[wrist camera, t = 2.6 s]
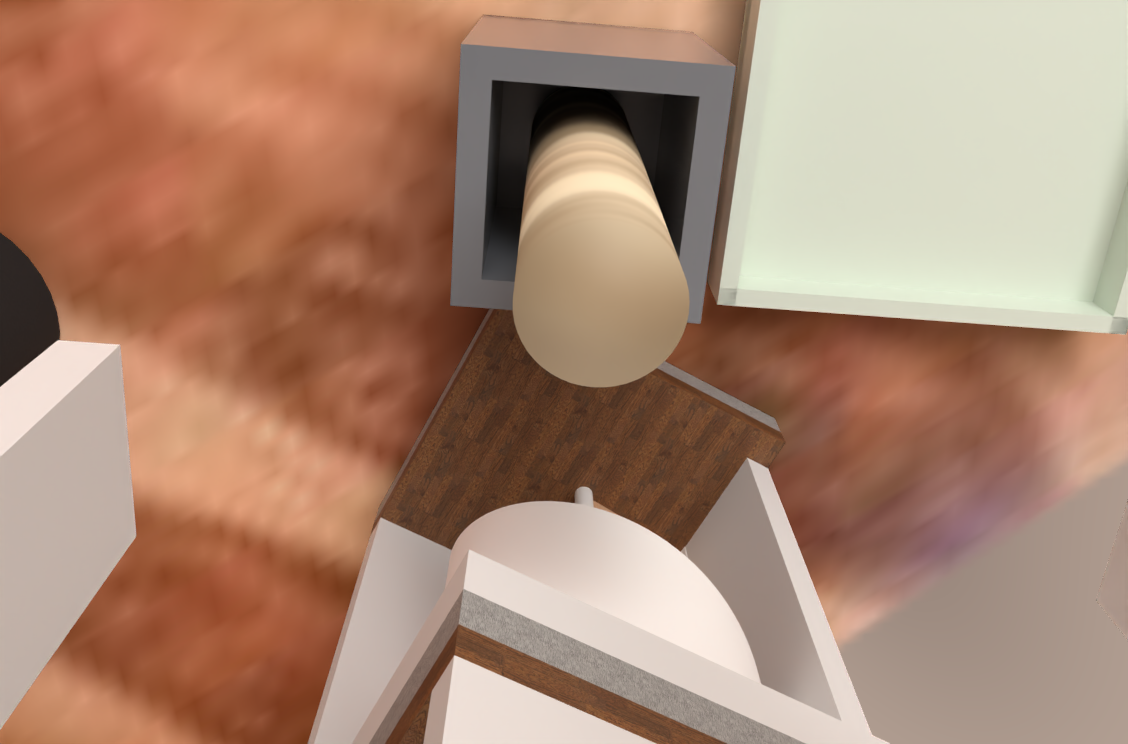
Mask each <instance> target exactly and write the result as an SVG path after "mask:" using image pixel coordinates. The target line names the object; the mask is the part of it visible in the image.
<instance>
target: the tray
mask: <svg viewBox="0 0 1128 744" xmlns="http://www.w3.org/2000/svg"><path fill="white" fill-rule="evenodd" d="M707 282H708V284H709V286H710V289H711V291H712V294H713V296H714V298H715V301H716V303H717V305H729V306H742V307H756V308H770V309H783V310H797V311H811V312H824V313H838V314H852V315H865V316H879V317H893V318H906V319H920V320H934V321H947V322H961V323H975V324H988V325H1002V326H1016V327H1029V328H1043V329H1057V330H1070V331H1084V332H1098V333H1111V334H1125V335H1126V333H1127V329H1128V0H746V5H745V13H744V20H743V27H742V34H741V42H740V49H739V56H738V63H737V71H736V78H735V85H734V92H733V100H732V107H731V114H730V121H729V129H728V136H727V143H726V150H725V158H724V165H723V172H722V179H721V187H720V194H719V201H718V208H717V216H716V223H715V230H714V237H713V245H712V252H711V259H710V266H709V274H708V281H707Z"/></svg>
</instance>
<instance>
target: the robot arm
mask: <svg viewBox="0 0 1128 744" xmlns="http://www.w3.org/2000/svg"><path fill="white" fill-rule="evenodd" d="M135 537H136V526H135V514H134V502H133V490H132V479H131V467H130V455H129V443H128V431H127V419H126V407H125V396H124V384H123V372H122V360H121V348H120V345H117V344H103V343H90V342H76V341H62V340H57V341H56V342H55V343H54V344H53V345H51V346H50V347H49V348H48V349H46V350H45V351H44V352H43V353H41V354H40V355H39V356H38V357H37V358H35V359H34V360H33V361H32V362H30V363H29V364H28V365H27V366H25V367H24V368H23V369H22V370H21V371H19V372H18V373H17V374H16V375H14V376H13V377H12V378H11V379H9V380H8V381H7V382H6V383H4V384H3V385H2V386H1V387H0V729H1V728H2V727H3V725H4V724H5V722H6V721H7V719H8V718H9V717H10V715H11V714H12V712H13V711H14V710H15V708H16V707H17V705H18V704H19V702H20V701H21V700H22V698H23V697H24V695H25V694H26V692H27V691H28V690H29V688H30V687H31V685H32V684H33V682H34V681H35V680H36V678H37V677H38V675H39V674H40V673H41V671H42V670H43V668H44V667H45V665H46V664H47V663H48V661H49V660H50V658H51V657H52V655H53V654H54V653H55V651H56V650H57V648H58V647H59V645H60V644H61V643H62V641H63V640H64V638H65V637H66V636H67V634H68V633H69V631H70V630H71V628H72V627H73V626H74V624H75V623H76V621H77V620H78V618H79V617H80V616H81V614H82V613H83V611H84V610H85V608H86V607H87V606H88V604H89V603H90V601H91V600H92V599H93V597H94V596H95V594H96V593H97V591H98V590H99V589H100V587H101V586H102V584H103V583H104V581H105V580H106V579H107V577H108V576H109V574H110V573H111V571H112V570H113V569H114V567H115V566H116V564H117V563H118V562H119V560H120V559H121V557H122V556H123V554H124V553H125V552H126V550H127V549H128V547H129V546H130V544H131V543H132V542H133V540H134V539H135ZM1096 601H1097V602H1098V604H1099V605H1100V606H1101V607H1102V609H1103V610H1104V611H1105V612H1106V614H1107V615H1108V616H1109V617H1110V619H1111V620H1112V621H1113V622H1114V624H1115V625H1116V626H1117V627H1118V629H1119V630H1120V631H1121V632H1122V634H1123V635H1124V636H1125V637H1126V639H1127V640H1128V501H1127V504H1126V508H1125V510H1124V514H1123V517H1122V520H1121V523H1120V526H1119V529H1118V532H1117V535H1116V539H1115V542H1114V545H1113V548H1112V551H1111V554H1110V558H1109V560H1108V564H1107V567H1106V570H1105V573H1104V576H1103V579H1102V583H1101V586H1100V589H1099V592H1098V595H1097V598H1096Z"/></svg>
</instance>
